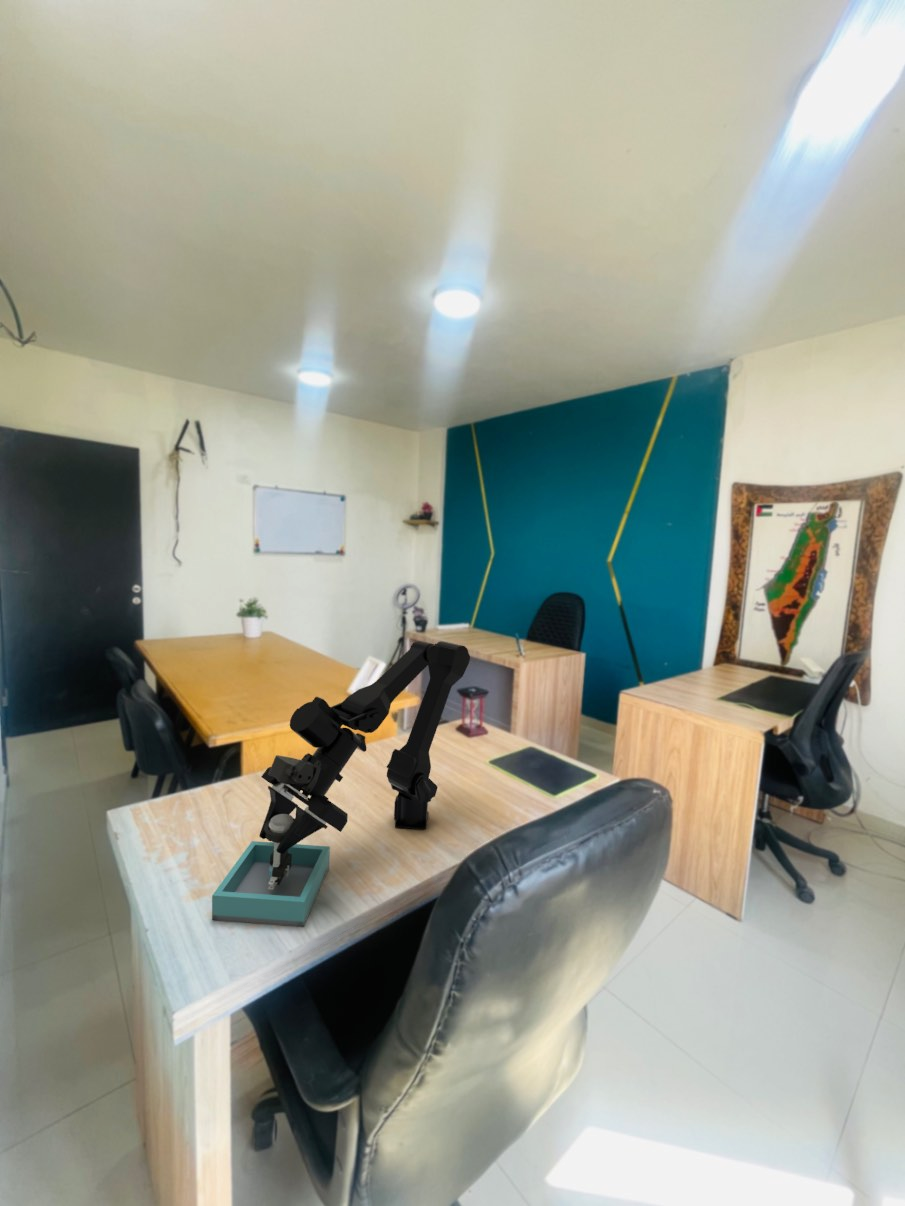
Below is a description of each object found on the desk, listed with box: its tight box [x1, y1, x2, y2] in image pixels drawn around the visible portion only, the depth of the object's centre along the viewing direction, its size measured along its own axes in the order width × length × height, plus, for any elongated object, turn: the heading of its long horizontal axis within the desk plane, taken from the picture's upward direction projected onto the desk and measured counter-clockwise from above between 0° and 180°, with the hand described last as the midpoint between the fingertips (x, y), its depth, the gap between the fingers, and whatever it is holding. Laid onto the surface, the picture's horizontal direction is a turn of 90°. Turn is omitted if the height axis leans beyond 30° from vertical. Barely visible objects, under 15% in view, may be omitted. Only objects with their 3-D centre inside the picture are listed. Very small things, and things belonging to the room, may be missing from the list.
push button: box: [264, 814, 295, 890], centre depth 82 cm, size 7×5×10 cm
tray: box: [211, 840, 331, 927], centre depth 82 cm, size 14×14×4 cm
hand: (269, 844), depth 80 cm, fingers closed on push button, 5 cm apart
